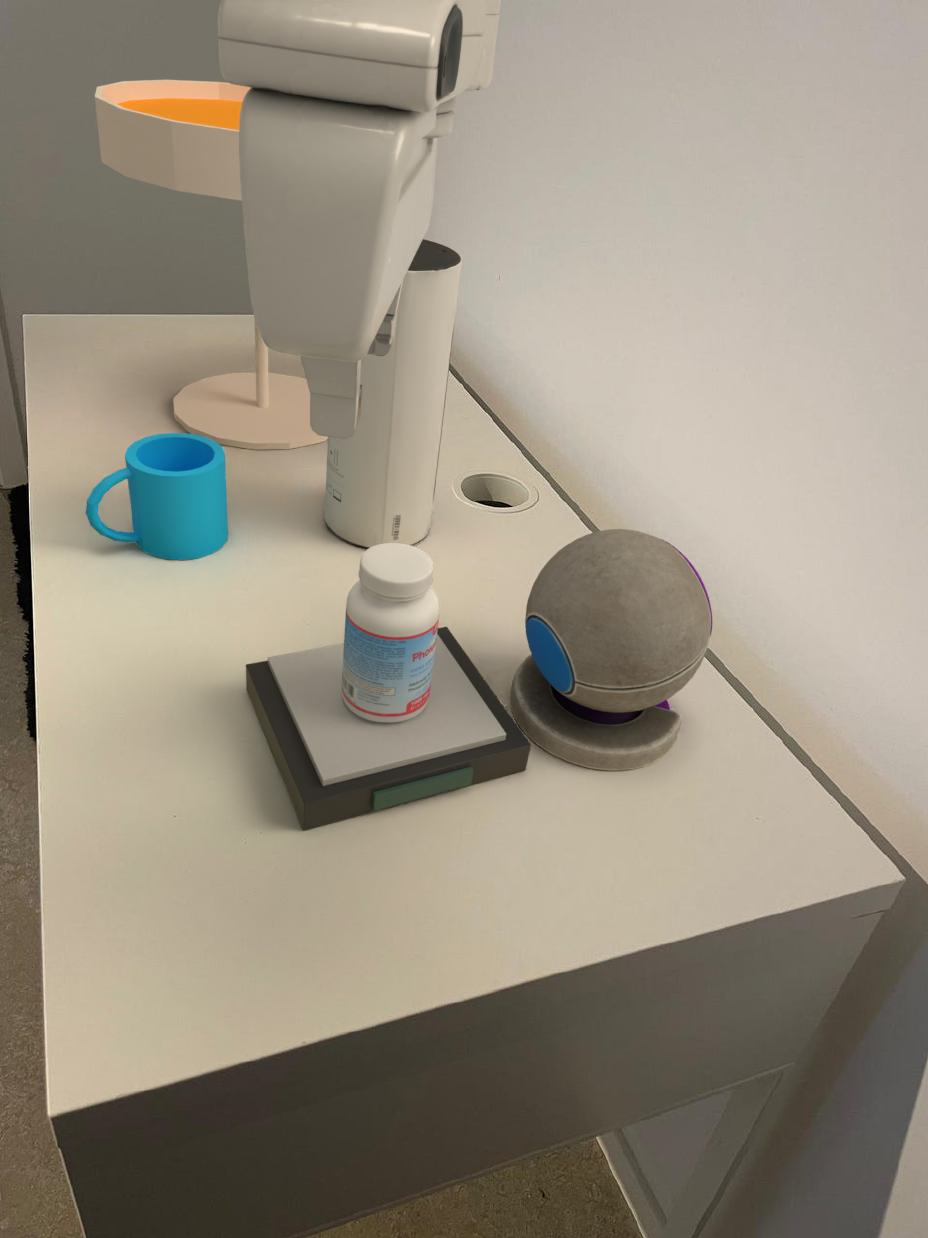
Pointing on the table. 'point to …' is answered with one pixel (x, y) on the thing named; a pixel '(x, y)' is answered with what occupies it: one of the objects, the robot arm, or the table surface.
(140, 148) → the desk lamp
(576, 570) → the webcam
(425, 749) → the scale
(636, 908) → the table surface
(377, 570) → the pill bottle
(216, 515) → the mug
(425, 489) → the speaker
